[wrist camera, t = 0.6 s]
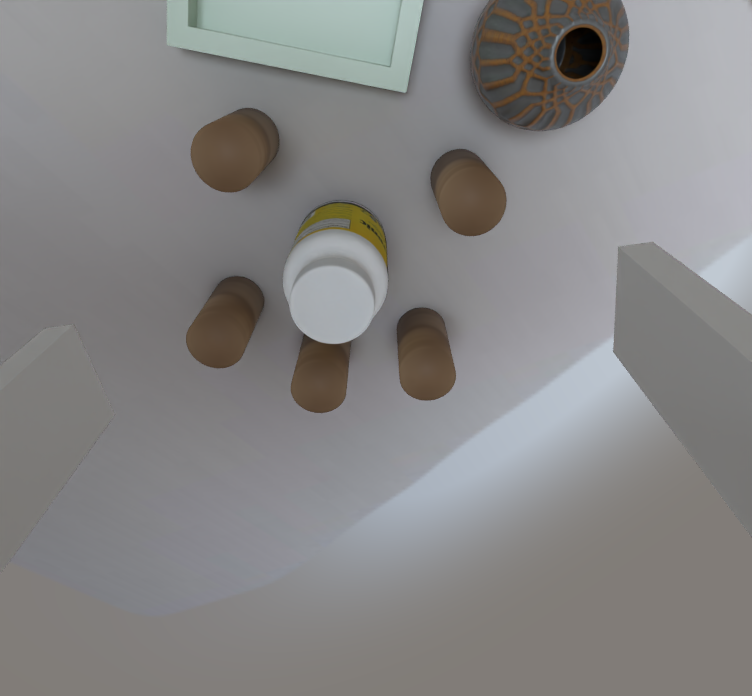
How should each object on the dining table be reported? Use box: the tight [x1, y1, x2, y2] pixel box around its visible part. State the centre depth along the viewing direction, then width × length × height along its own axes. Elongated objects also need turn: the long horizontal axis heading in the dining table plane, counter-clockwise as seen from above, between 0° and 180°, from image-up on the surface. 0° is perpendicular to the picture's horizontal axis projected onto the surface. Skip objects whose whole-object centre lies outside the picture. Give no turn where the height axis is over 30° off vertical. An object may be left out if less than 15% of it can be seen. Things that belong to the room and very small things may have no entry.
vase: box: [470, 0, 629, 131], centre depth 26 cm, size 7×7×9 cm
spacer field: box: [186, 108, 506, 413], centre depth 33 cm, size 15×15×6 cm
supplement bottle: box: [283, 200, 389, 344], centre depth 30 cm, size 5×5×10 cm
